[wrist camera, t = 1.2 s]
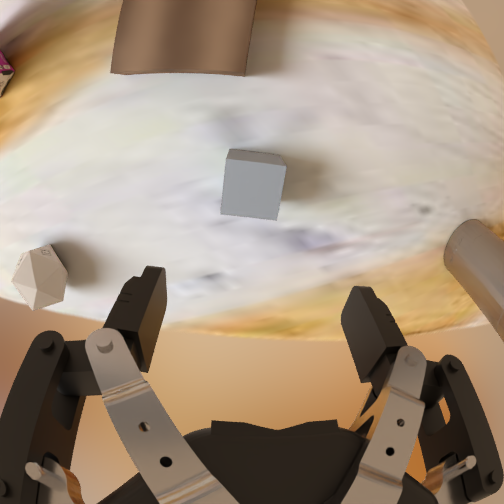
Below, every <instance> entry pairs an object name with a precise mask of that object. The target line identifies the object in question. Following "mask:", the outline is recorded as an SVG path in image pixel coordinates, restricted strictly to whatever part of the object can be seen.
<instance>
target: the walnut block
mask: <svg viewBox="0 0 504 504" xmlns="http://www.w3.org/2000/svg"><path fill="white" fill-rule="evenodd" d="M256 3H257V0H123V4H122V8H121V12H120V17H119V21H118V26H117V31H116V37H115V43H114V49H113V56H112V63H111V72H110V73H114V74H122V75H133V74H149V73H204V74H221V75H233V76H243V77H244V76H245V70H246V63H247V57H248V50H249V44H250V38H251V32H252V26H253V20H254V14H255V8H256Z"/></svg>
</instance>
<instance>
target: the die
mask: <svg viewBox="0 0 504 504" xmlns="http://www.w3.org/2000/svg"><path fill="white" fill-rule="evenodd" d="M67 276H68V272H67V271H66V269H65V268H64V266H63V264H62V263H61V261H60V260H59V258H58V257H57V255H56V253H55V252H54V250H53V248H52V247H51V245H46V246H43V247H40V248H37V249H34V250H30V251H28V252H25V253H22V254H21V255H20V258H19V260H18V263H17V266H16V269H15V272H14V275H13V278H12V283H13V284H14V286H15V287H16V289H17V290H18V292H19V293H20V294H21V296H22V297H23V299H24V300H25V301H26V303H27V304H28V305H29V307H30V308H31V309H32V310H33V311H34V310H37V309H40V308H43V307H46V306H49V305H52V304H55V303H58V302H61V301H63V298H64V293H65V287H66V282H67Z"/></svg>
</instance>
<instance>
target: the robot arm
mask: <svg viewBox="0 0 504 504" xmlns="http://www.w3.org/2000/svg"><path fill="white" fill-rule="evenodd" d="M444 262H445V266H446V268H447V269H448V270H449V271H450V273H451V274H452V275H453V276H454V277H455V278H456V280H457V281H458V282H459V283H460V285H461V286H462V287H463V288H464V289H465V291H466V292H467V293H468V294H469V296H470V297H471V298H472V299H473V301H474V302H475V303H476V304H477V306H478V307H479V308H480V310H481V311H482V312H483V314H484V315H485V316H486V318H487V319H488V320H489V322H490V323H491V325H492V326H493V327H494V329H495V330H496V332H497V333H498V334H499V336H500V337H501V339H502V340H503V342H504V241H503V240H502V239H500V238H499V237H498V236H497V235H496V234H495V233H493V232H492V231H491V230H490V229H488V228H487V227H486V226H485V225H483V224H482V223H481V222H479V221H478V220H469V221H466V222H464V223H463V224H462V225H460V226H459V227H458V228H457V229H456V230H455V232H454V233H453V234H452V236H451V237H450V239H449V241H448V243H447V246H446V249H445V254H444ZM166 306H167V289H166V272H165V268H163V267H154V266H146V268H145V269H144V271H143V273H142V276H141V277H136V276H133V277H132V278H131V279H130V280H128V281H127V282H126V283H125V284H124V286H123V288H122V290H121V292H120V294H119V296H118V298H117V301H116V302H115V304H114V306H113V308H112V310H111V312H110V314H109V316H108V318H107V320H106V322H105V324H104V326H103V328H101V329H98V330H96V331H94V332H92V333H91V334H90V335H89V336H88V338H87V340H81V341H80V340H79V341H64V339H63V337H62V335H61V334H60V333H58V332H56V331H45V332H42V333H40V334H39V335H38V336H36V338H35V339H34V340H33V342H32V344H31V346H30V348H29V350H28V352H27V354H26V356H25V358H24V360H23V363H22V365H21V367H20V369H19V371H18V373H17V376H16V378H15V380H14V383H13V385H12V388H11V390H10V393H9V395H8V398H7V401H6V404H5V406H4V409H3V412H2V415H1V418H0V504H85V503H84V501H83V499H82V496H81V486H80V483H79V481H78V479H77V477H76V476H75V475H74V474H73V473H72V472H71V471H70V466H71V460H72V455H73V449H74V445H75V440H76V435H77V431H78V426H79V422H80V418H81V414H82V410H83V406H84V403H85V399H86V396H90V395H103V397H102V399H103V402H104V405H105V407H106V409H107V411H108V414H109V416H110V418H111V420H112V422H113V424H114V427H115V429H116V431H117V433H118V434H119V437H120V439H121V441H122V442H123V444H124V446H125V448H126V450H127V452H128V453H129V455H130V457H131V459H132V461H133V462H134V464H135V466H136V467H137V469H138V471H139V472H138V473H137V474H136V475H135V476H134V477H132V478H131V479H130V480H128V481H127V482H126V483H124V484H123V485H122V486H121V487H119V488H118V489H117V490H115V491H114V492H112V493H111V494H110V495H108V496H107V497H106V498H104V499H103V500H101V501H100V502H99V503H97V504H472V503H475V502H477V501H479V500H481V499H483V498H486V497H487V496H490V495H492V494H493V493H496V492H497V491H498V490H499V488H500V487H501V485H502V482H503V476H504V475H503V469H502V465H501V461H500V458H499V454H498V451H497V448H496V444H495V441H494V438H493V435H492V433H491V430H490V427H489V424H488V421H487V418H486V416H485V413H484V411H483V408H482V406H481V403H480V401H479V399H478V396H477V394H476V392H475V389H474V387H473V385H472V383H471V381H470V378H469V376H468V374H467V372H466V370H465V368H464V366H463V364H462V362H461V361H460V360H459V359H458V358H457V357H455V356H453V355H445V356H444V357H443V358H442V359H441V360H440V361H439V362H433V361H429V360H426V358H425V356H424V355H423V354H422V352H421V351H420V350H418V349H416V348H415V347H412V346H408V345H407V343H406V341H405V339H404V337H403V335H402V333H401V331H400V329H399V327H398V325H397V323H395V320H394V318H393V316H392V314H391V312H390V310H389V309H388V307H387V305H386V304H385V303H384V302H382V301H381V300H380V299H379V298H377V297H376V295H375V293H374V291H373V289H372V288H371V287H365V286H354V287H353V288H352V290H351V292H350V295H349V297H348V299H347V302H346V304H345V306H344V309H343V311H342V314H341V325H342V328H343V331H344V333H345V336H346V339H347V342H348V345H349V348H350V351H351V354H352V357H353V360H354V363H355V366H356V369H357V372H358V375H359V378H360V381H361V383H366V382H371V384H372V386H371V388H370V389H369V391H368V393H367V396H366V398H365V400H364V402H363V404H362V406H361V408H360V411H359V413H358V415H357V417H356V419H355V421H354V422H353V424H352V425H351V427H350V428H349V429H344V428H340V427H338V424H337V420H326V421H313V422H306V423H303V424H300V425H296V426H293V427H289V428H285V429H281V430H274V429H269V428H265V427H260V426H256V425H252V424H248V423H244V422H225V421H212V423H211V428H205V429H201V430H197V431H194V432H191V433H189V434H187V435H184V436H182V435H181V433H180V432H179V431H178V429H177V428H176V426H175V425H174V423H173V422H172V420H171V419H170V417H169V415H168V414H167V413H166V411H165V409H164V408H163V406H162V404H161V403H160V401H159V399H158V398H157V396H156V395H155V393H154V391H153V389H152V388H151V386H150V384H149V383H148V382H147V381H145V380H144V378H143V376H142V374H141V372H146V373H148V371H149V368H150V364H151V360H152V356H153V353H154V349H155V345H156V342H157V338H158V335H159V331H160V328H161V325H162V321H163V318H164V314H165V311H166ZM140 371H141V372H140ZM443 397H444V398H445V400H446V403H447V405H448V408H449V411H450V420H449V422H448V423H447V424H445V420H444V417H443V414H442V411H441V409H440V406H439V403H438V402H439V401H440V400H441V399H442V398H443ZM417 435H418V438H419V443H420V446H421V450H422V455H423V458H424V463H425V468H426V472H427V474H426V478H425V480H424V481H423V482H422V483H419V482H418V481H417V480H415V479H414V478H413V477H411V476H410V475H409V474H408V473H406V472H405V470H406V468H407V465H408V462H409V459H410V456H411V454H412V451H413V447H414V444H415V441H416V438H417Z"/></svg>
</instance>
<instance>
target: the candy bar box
mask: <svg viewBox="0 0 504 504" xmlns="http://www.w3.org/2000/svg"><path fill="white" fill-rule="evenodd" d="M14 72H15V70H14V69H13V68H12V66H11V65H10V64H9V62H8V61H7V59H6V58H5V57H4V55H3V54H2V52H1V51H0V97H1V95H2V94H3V92H4V90H5V88H6V86H7V84H8V83H9V81H10V79H11V78H12V76H13V74H14Z"/></svg>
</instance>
